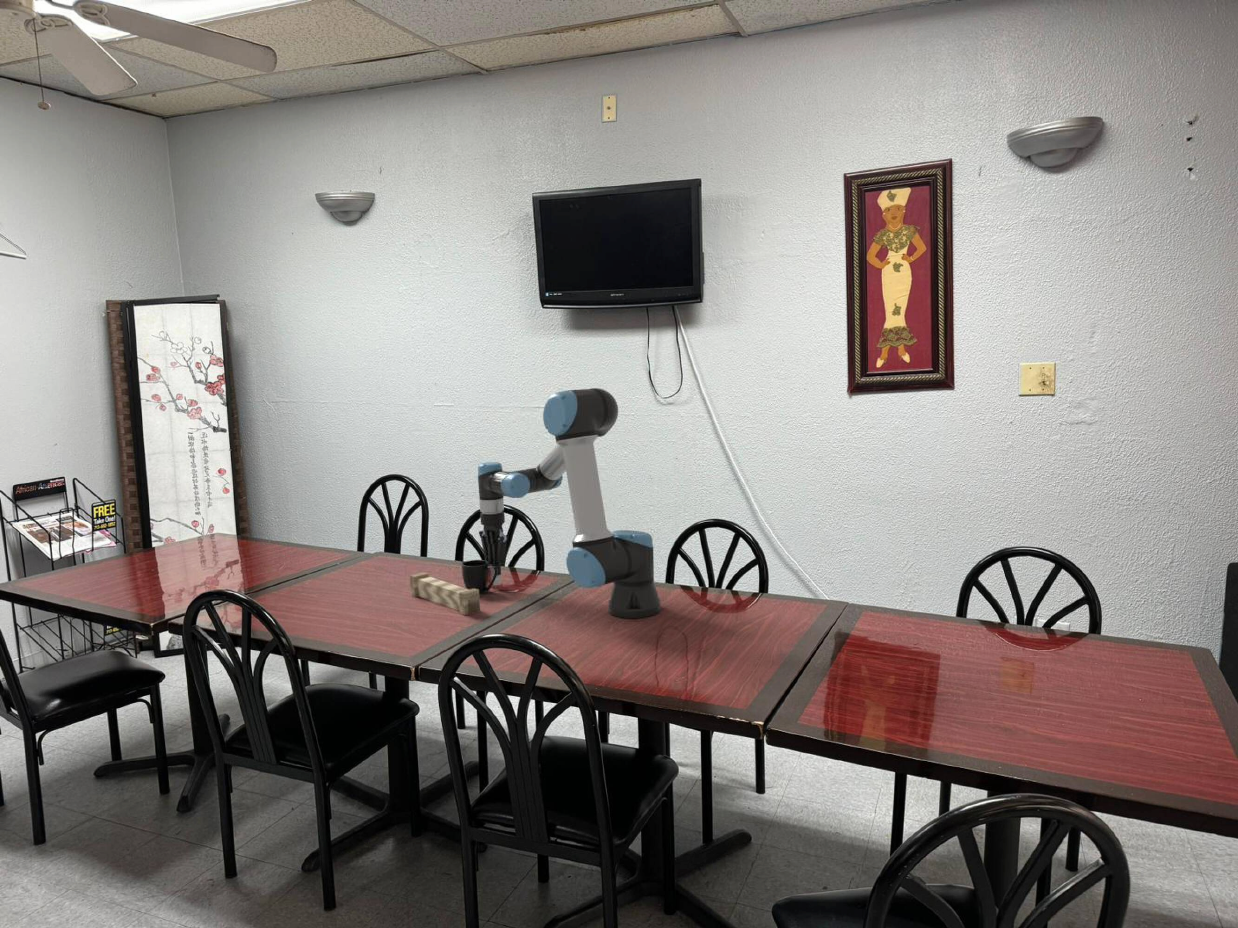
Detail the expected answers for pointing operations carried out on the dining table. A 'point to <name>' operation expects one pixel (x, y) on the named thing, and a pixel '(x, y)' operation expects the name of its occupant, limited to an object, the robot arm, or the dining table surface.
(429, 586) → the batten
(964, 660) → the dining table surface
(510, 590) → the dining table surface
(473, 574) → the mug
